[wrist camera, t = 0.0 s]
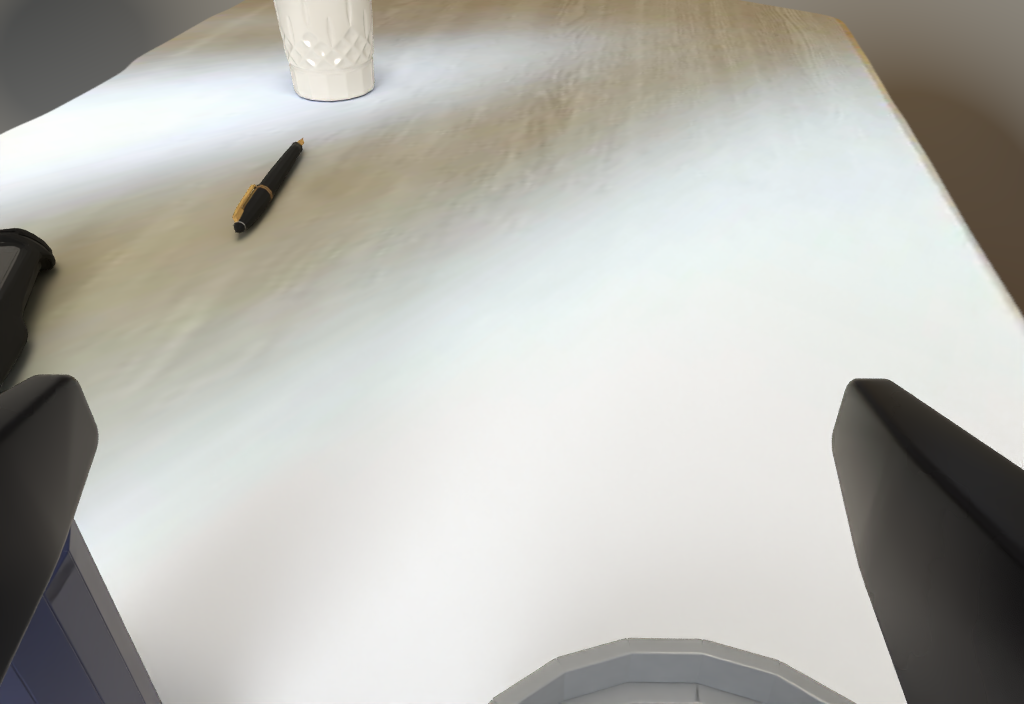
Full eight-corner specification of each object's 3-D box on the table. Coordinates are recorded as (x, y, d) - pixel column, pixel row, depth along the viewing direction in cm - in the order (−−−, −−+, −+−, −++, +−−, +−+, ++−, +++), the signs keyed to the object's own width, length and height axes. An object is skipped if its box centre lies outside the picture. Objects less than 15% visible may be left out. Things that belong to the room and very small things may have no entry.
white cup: (276, 83, 71) (254, -43, 65) (363, 68, 74) (348, -53, 68) (304, 110, 65) (281, -25, 59) (395, 94, 68) (383, -37, 62)
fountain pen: (296, 146, 59) (293, 126, 58) (312, 146, 59) (309, 126, 58) (228, 241, 48) (222, 218, 47) (247, 242, 48) (242, 219, 47)
